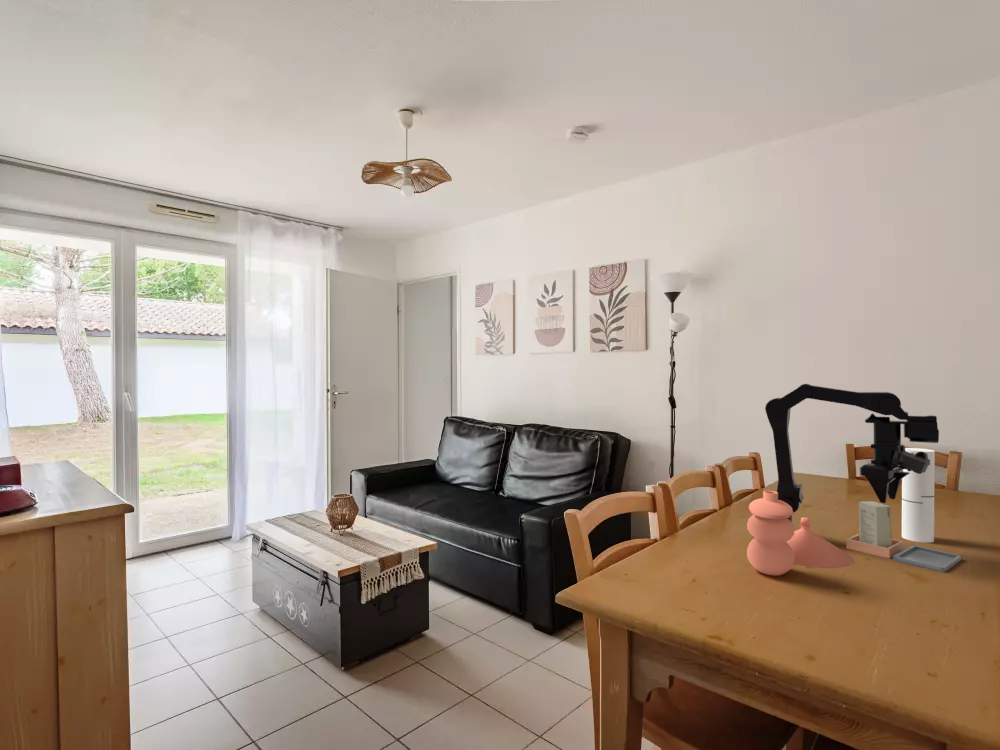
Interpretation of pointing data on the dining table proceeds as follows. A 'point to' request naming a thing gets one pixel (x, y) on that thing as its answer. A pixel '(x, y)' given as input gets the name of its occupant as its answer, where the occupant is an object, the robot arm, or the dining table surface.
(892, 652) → the dining table surface
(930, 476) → the cylindrical container
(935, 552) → the tray
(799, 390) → the robot arm
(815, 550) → the ceramic vessels
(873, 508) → the skincare box
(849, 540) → the holder
